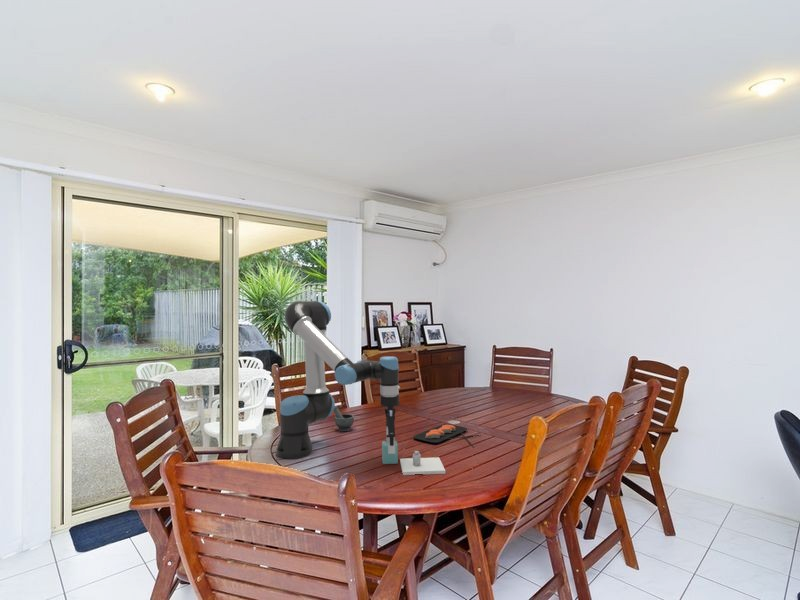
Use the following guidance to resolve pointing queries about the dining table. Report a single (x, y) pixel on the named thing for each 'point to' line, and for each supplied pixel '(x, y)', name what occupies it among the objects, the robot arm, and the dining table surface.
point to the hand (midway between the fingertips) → (390, 447)
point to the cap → (389, 457)
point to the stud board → (421, 465)
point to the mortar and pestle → (343, 420)
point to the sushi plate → (442, 433)
